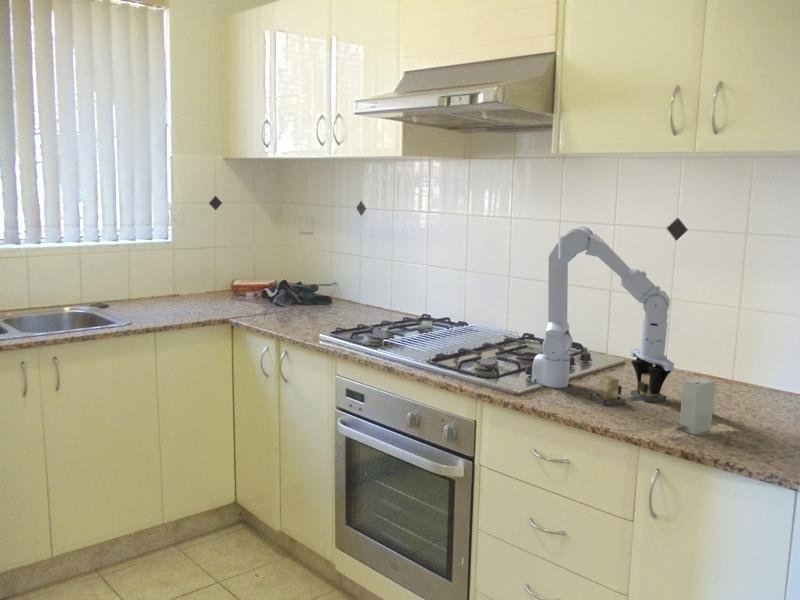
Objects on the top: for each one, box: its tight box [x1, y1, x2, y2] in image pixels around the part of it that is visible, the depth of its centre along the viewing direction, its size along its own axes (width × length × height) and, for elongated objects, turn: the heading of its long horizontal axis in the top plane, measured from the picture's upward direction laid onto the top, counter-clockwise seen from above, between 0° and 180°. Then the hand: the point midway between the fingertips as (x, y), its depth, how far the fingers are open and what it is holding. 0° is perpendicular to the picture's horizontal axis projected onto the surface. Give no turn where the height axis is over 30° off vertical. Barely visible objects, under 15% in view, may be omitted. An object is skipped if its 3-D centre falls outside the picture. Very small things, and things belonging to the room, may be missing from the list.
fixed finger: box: [598, 375, 623, 400], centre depth 178 cm, size 4×3×6 cm
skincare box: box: [678, 376, 717, 435], centre depth 162 cm, size 6×4×12 cm
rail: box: [590, 389, 667, 407], centre depth 180 cm, size 18×6×3 cm, turn 108°
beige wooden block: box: [636, 373, 659, 397], centre depth 181 cm, size 4×3×6 cm
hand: (648, 390), depth 181 cm, fingers open, 4 cm apart
